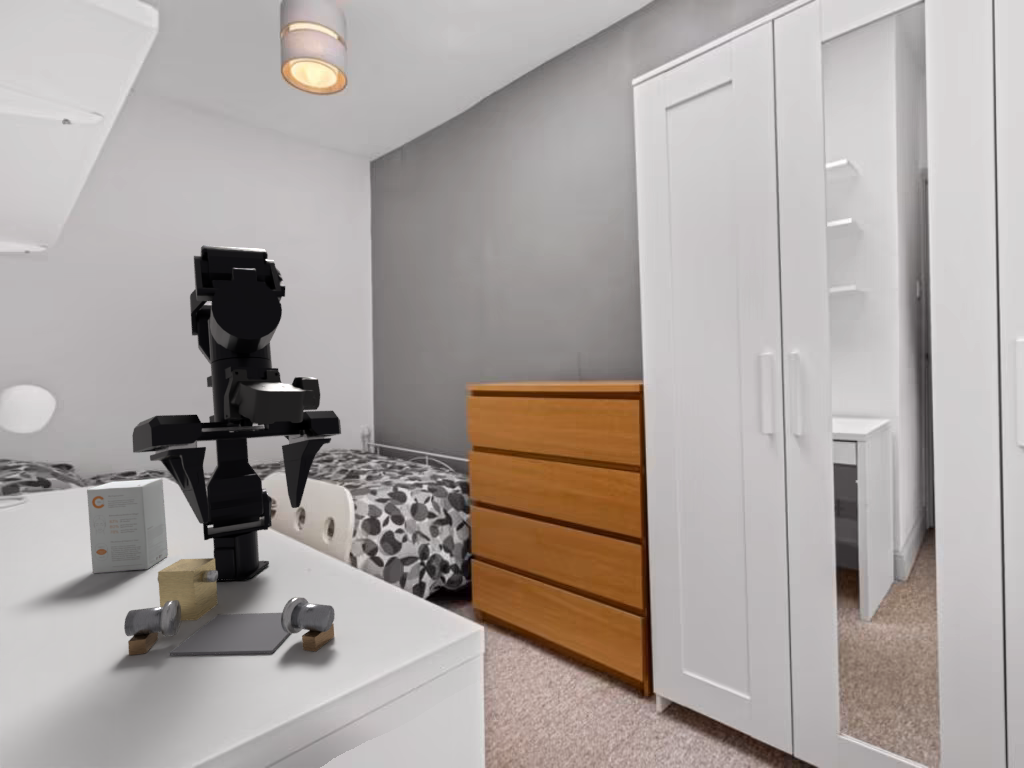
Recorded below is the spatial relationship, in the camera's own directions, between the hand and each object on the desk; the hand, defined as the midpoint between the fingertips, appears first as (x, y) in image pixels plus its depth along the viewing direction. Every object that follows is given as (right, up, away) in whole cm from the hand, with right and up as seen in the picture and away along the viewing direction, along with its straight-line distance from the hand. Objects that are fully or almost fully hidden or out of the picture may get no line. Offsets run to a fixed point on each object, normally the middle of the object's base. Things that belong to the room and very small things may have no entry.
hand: (252, 514), depth 56 cm
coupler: (-14, -15, +13) cm, 24 cm away
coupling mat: (-4, -15, +7) cm, 17 cm away
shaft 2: (+5, -15, +4) cm, 16 cm away
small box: (-34, -16, +32) cm, 49 cm away
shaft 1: (-13, -15, +5) cm, 21 cm away
